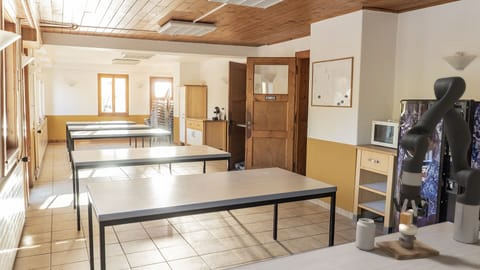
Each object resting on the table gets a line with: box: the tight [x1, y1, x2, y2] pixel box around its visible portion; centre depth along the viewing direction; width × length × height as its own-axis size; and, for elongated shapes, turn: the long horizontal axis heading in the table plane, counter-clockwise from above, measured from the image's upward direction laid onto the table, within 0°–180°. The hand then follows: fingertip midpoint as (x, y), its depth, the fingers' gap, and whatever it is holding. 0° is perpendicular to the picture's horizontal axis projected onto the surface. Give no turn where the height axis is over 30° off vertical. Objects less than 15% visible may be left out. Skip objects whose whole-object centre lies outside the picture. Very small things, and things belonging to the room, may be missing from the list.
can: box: [355, 217, 377, 251], centre depth 159 cm, size 8×8×12 cm
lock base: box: [375, 233, 440, 260], centre depth 157 cm, size 20×14×8 cm
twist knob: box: [398, 208, 419, 236], centre depth 157 cm, size 10×7×8 cm
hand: (408, 223), depth 157 cm, fingers closed on twist knob, 3 cm apart
